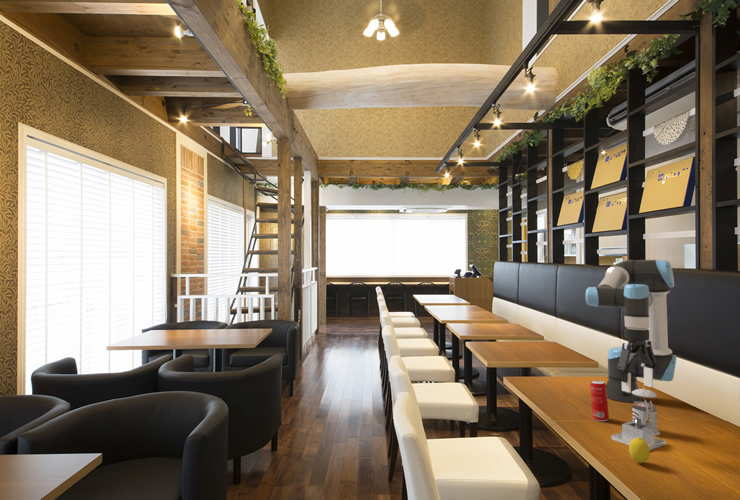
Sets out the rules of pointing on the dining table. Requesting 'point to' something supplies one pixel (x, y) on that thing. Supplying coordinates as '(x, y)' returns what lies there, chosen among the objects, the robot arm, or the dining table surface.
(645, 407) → the french press
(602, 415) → the beverage can
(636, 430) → the white square hollow block
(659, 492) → the dining table surface
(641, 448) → the lemon
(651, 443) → the toggle switch
